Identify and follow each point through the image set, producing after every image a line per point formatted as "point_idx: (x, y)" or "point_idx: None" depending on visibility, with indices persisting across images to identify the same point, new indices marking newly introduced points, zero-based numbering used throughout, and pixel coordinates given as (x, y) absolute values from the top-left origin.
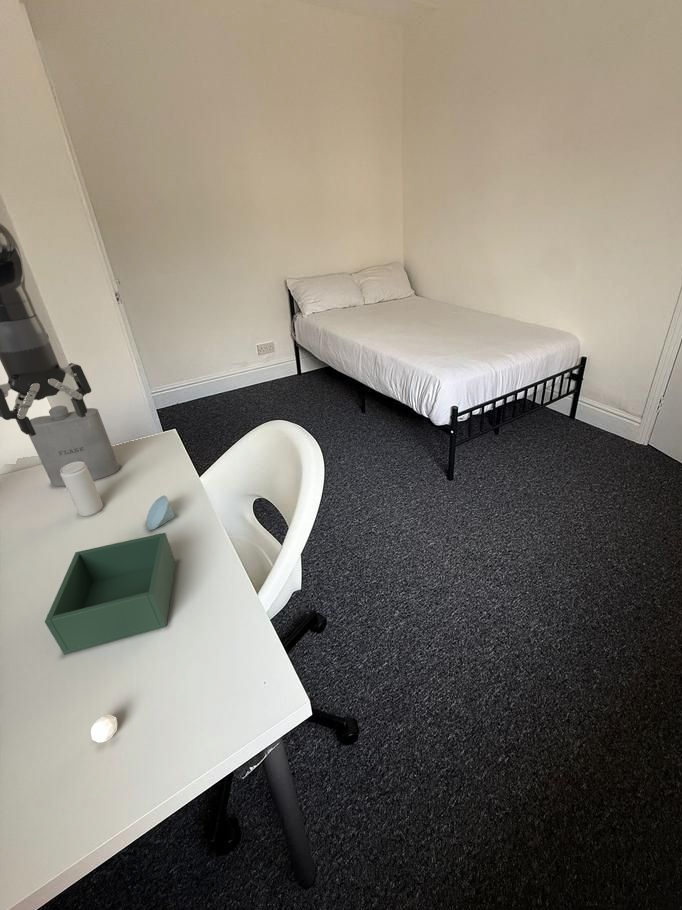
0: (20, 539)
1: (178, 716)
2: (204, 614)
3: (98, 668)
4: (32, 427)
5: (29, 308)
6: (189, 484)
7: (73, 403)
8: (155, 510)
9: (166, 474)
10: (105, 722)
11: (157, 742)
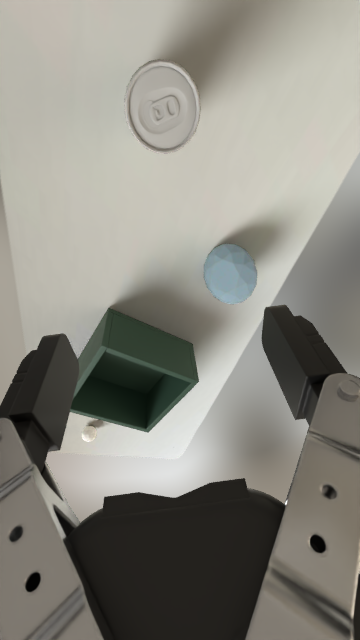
0: (9, 77)
1: (127, 437)
2: None
3: None
4: (70, 400)
5: None
6: (324, 197)
7: (292, 366)
8: (226, 285)
9: (340, 100)
10: (90, 440)
11: (112, 440)
